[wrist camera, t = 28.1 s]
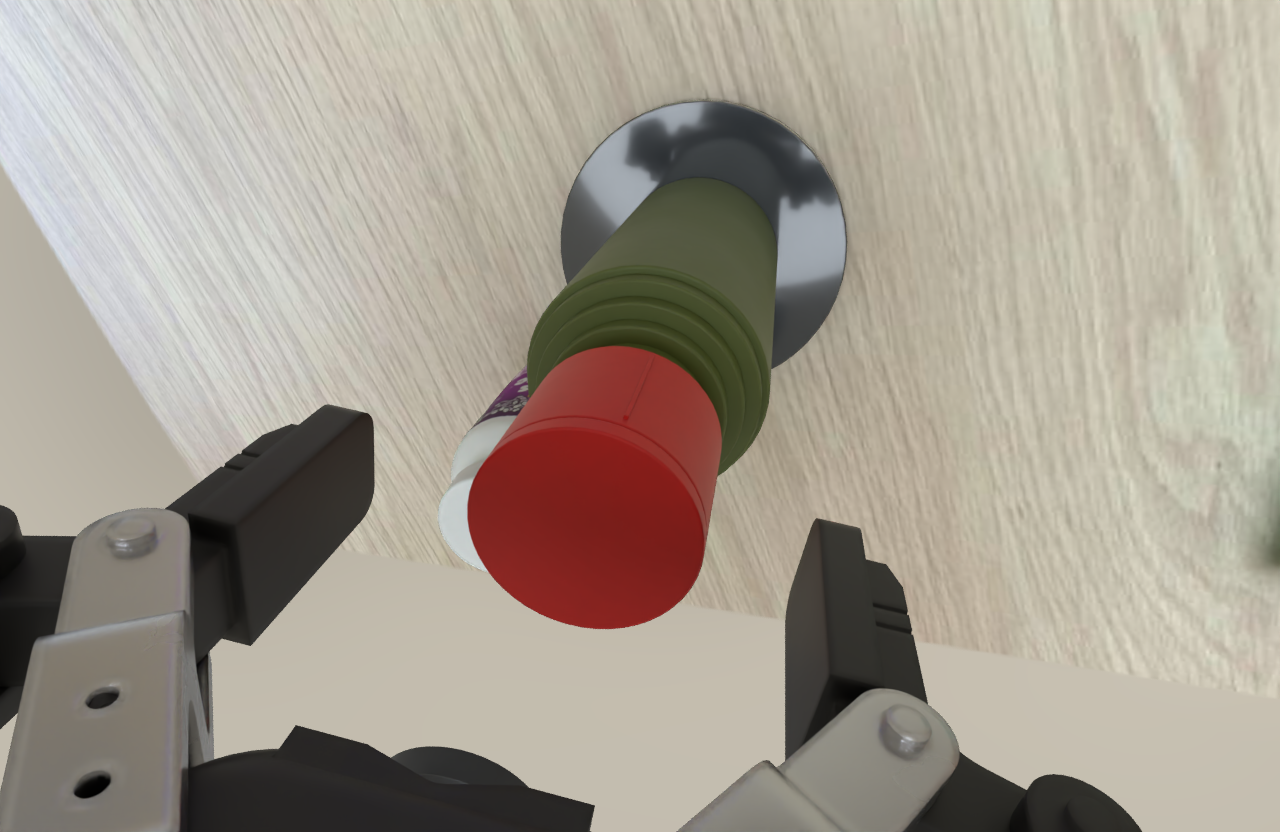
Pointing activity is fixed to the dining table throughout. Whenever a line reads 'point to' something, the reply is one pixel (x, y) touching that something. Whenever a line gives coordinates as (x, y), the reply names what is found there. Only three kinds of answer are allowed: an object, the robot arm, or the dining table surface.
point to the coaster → (735, 154)
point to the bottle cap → (601, 490)
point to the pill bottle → (477, 466)
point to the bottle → (680, 300)
